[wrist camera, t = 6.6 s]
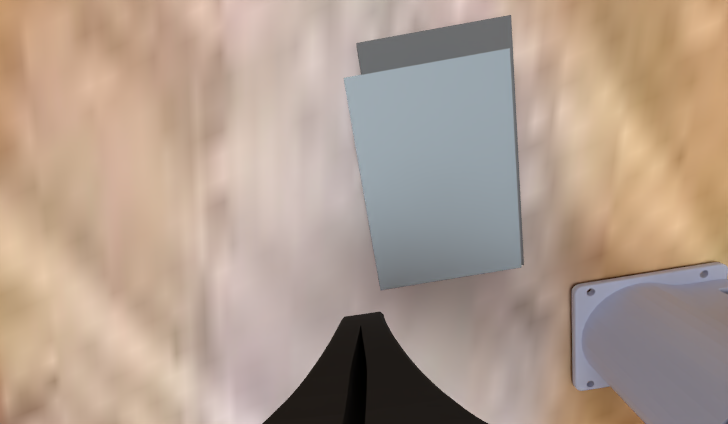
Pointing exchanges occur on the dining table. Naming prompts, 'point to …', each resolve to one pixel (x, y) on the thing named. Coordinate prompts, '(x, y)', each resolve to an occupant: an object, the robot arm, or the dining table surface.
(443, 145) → the slab
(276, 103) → the dining table surface
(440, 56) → the flat gray panel
